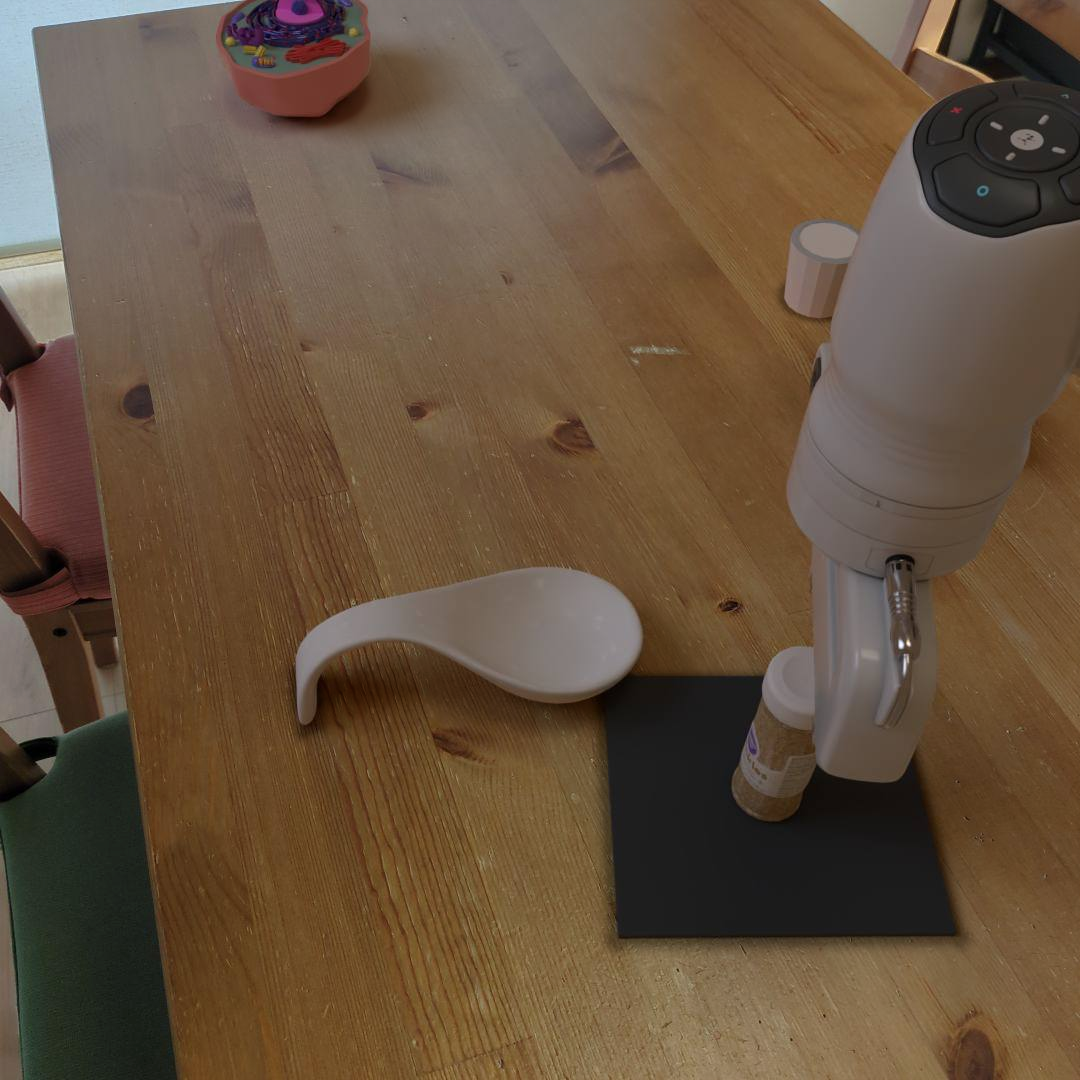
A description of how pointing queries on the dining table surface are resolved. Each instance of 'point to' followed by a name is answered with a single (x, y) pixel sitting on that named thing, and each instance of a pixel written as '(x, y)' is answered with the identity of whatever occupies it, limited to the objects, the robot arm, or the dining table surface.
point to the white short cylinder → (818, 265)
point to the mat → (753, 830)
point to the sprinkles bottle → (779, 740)
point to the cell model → (295, 53)
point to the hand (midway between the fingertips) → (826, 658)
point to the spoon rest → (496, 633)
